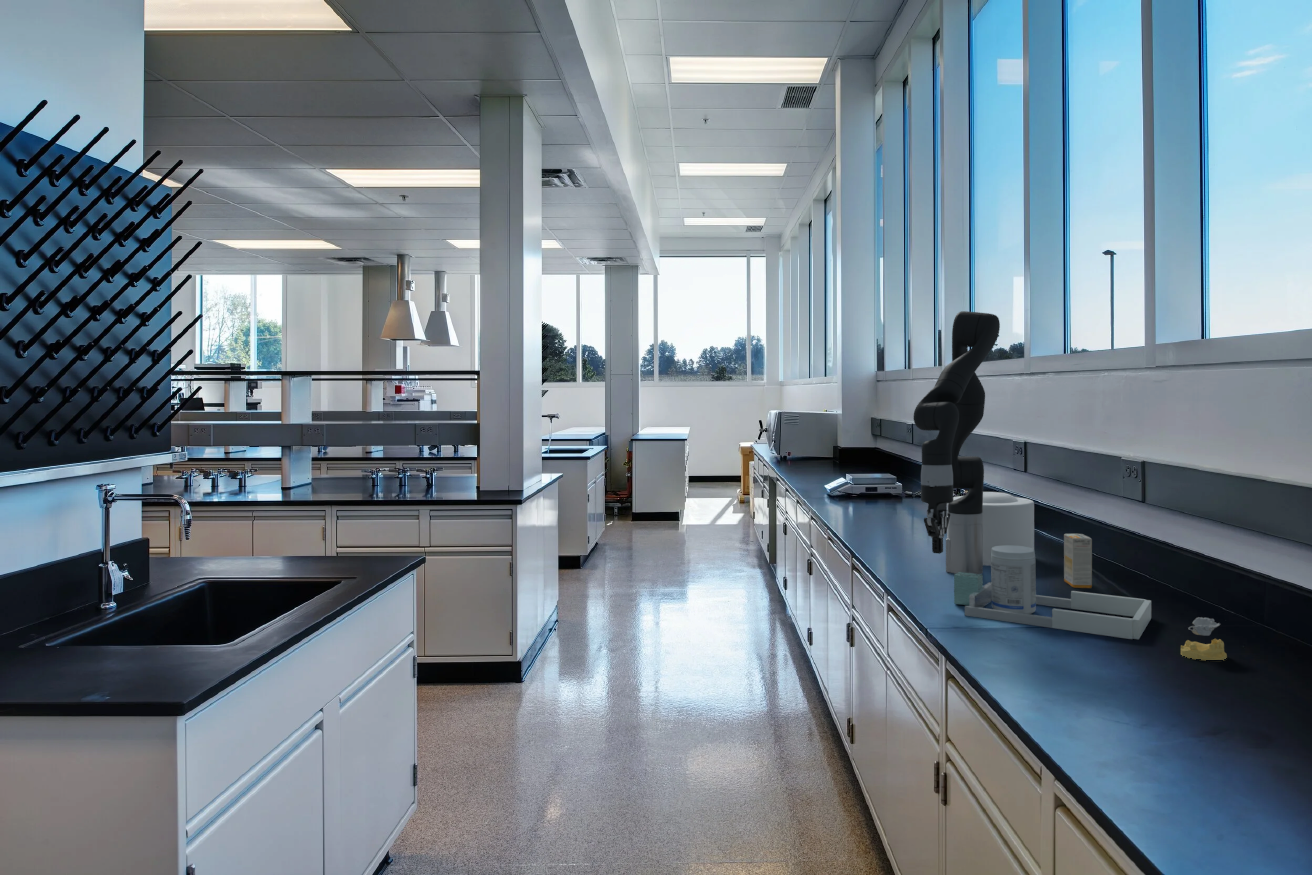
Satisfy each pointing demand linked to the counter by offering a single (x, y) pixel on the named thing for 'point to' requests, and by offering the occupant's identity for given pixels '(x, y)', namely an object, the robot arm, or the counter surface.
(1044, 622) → the guide rails
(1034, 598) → the supplement tub
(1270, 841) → the counter surface
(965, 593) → the scraper sled
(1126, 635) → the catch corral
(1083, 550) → the supplement box
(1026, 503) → the container
